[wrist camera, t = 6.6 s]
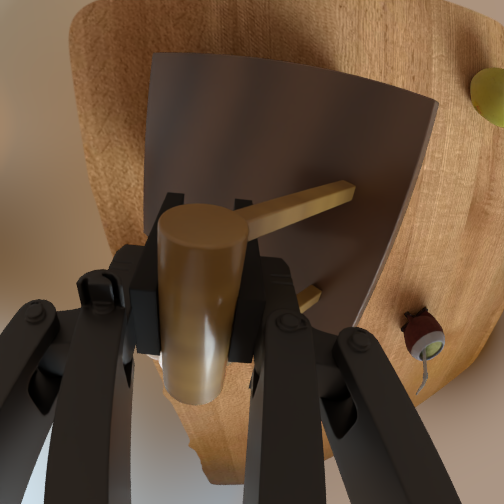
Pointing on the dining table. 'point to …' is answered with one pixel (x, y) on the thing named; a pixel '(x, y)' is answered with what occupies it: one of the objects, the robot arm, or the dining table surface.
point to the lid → (270, 194)
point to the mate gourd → (423, 338)
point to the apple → (489, 94)
